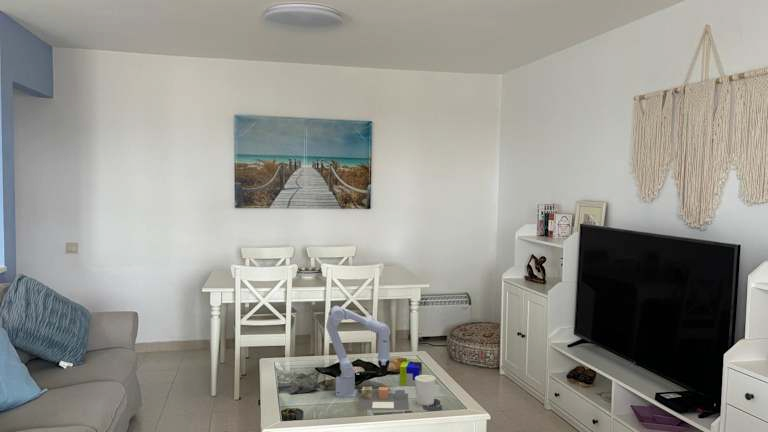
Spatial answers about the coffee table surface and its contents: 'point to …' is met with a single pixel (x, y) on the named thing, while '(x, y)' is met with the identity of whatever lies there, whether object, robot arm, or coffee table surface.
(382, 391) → the terracotta block
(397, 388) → the slate block
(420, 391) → the candle holder
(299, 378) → the mineral rock
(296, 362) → the coffee table surface
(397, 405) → the mat
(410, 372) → the puzzle toy
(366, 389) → the beech block
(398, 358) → the nautilus
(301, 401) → the coffee table surface
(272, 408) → the coffee table surface
